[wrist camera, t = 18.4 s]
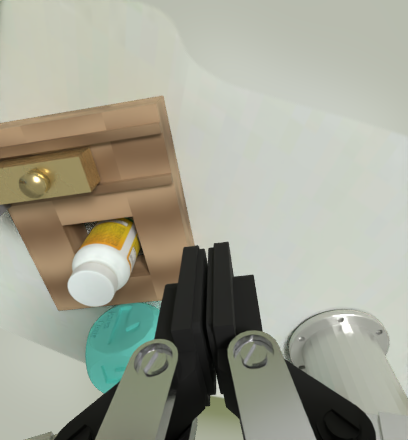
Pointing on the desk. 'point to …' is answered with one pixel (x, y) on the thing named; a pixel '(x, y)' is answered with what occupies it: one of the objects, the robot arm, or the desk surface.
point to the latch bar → (47, 176)
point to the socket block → (105, 194)
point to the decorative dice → (118, 341)
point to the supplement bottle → (104, 261)
